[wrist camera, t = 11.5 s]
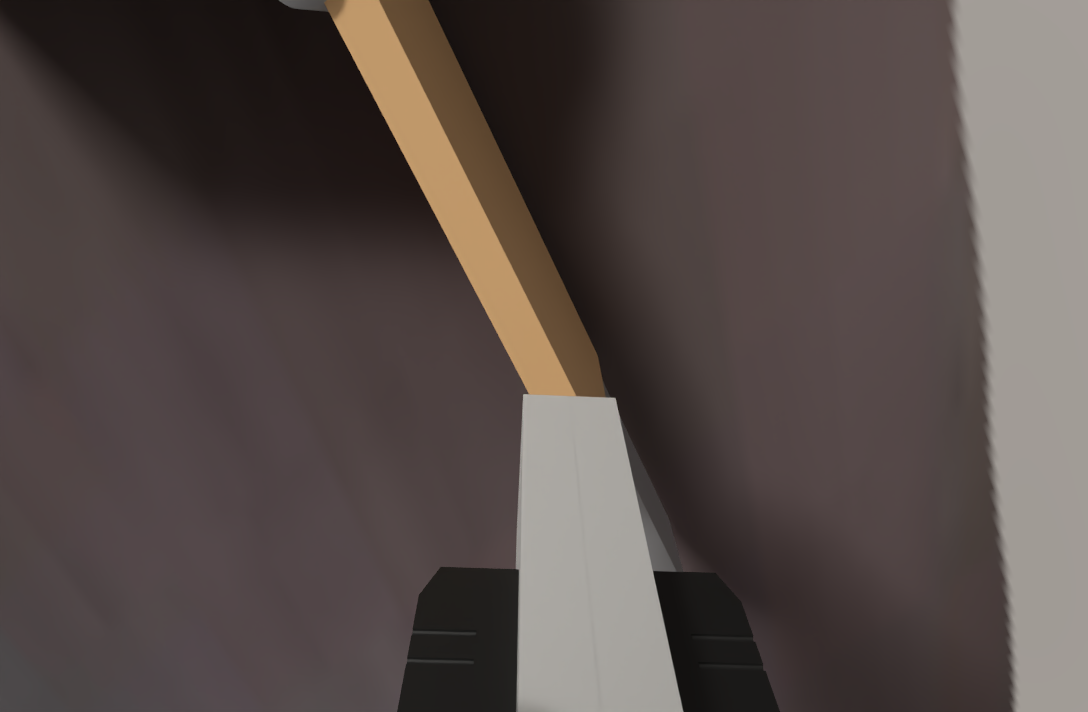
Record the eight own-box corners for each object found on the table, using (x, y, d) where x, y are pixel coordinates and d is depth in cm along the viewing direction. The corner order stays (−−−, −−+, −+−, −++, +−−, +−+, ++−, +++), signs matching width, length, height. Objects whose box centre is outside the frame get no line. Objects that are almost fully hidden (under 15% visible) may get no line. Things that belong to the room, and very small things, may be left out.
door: (621, 507, 25) (655, 695, 18) (357, -18, 19) (250, -45, 12) (663, 491, 24) (714, 675, 17) (408, -46, 18) (331, -89, 12)
